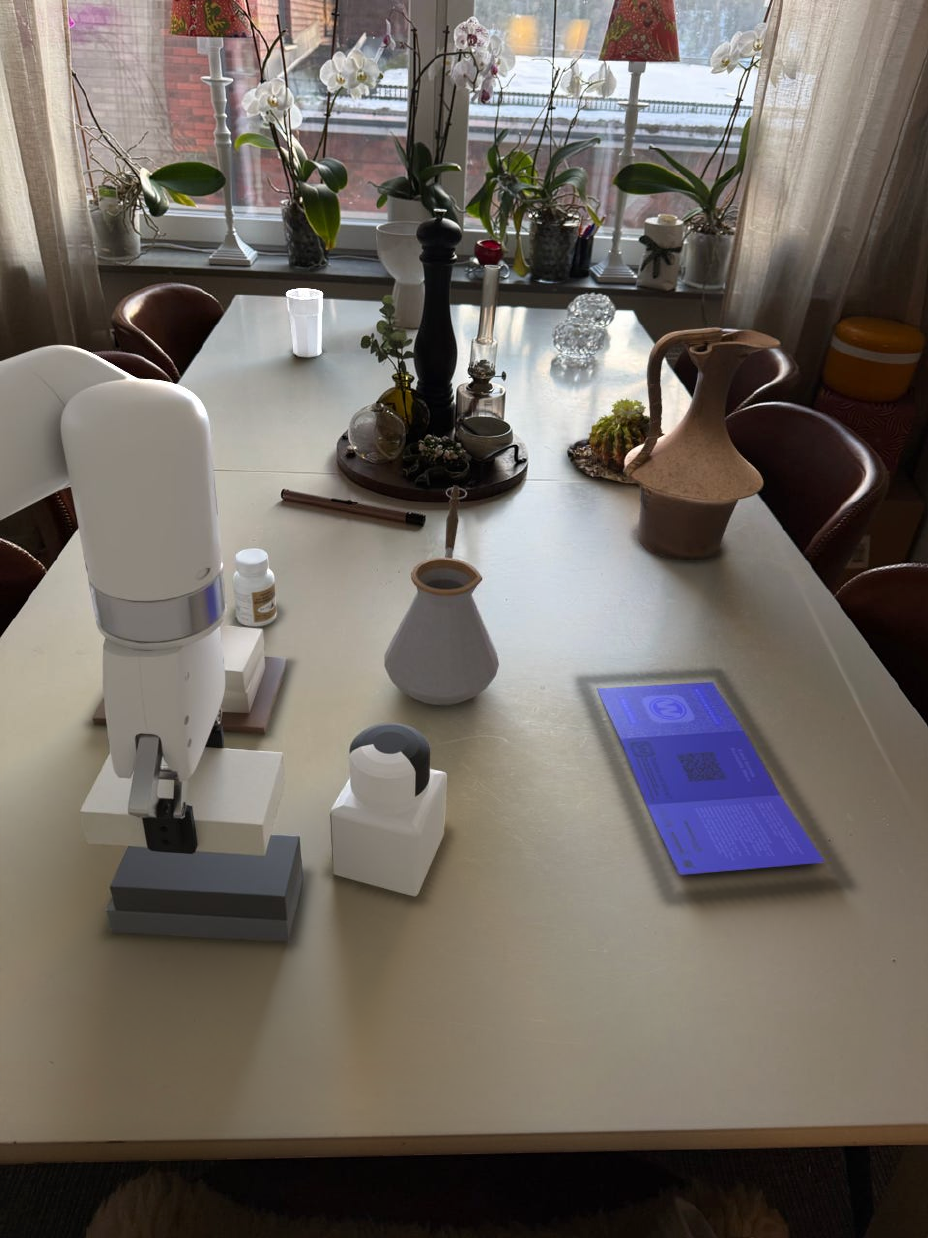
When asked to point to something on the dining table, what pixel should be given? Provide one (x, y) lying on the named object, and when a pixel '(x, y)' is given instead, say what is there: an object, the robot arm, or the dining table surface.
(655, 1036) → the dining table surface
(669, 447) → the pitcher
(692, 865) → the booklet
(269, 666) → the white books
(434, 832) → the blocky figurine
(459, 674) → the coffee pot
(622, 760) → the dining table surface
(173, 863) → the grey books
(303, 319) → the cup
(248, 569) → the pill bottle
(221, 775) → the white book
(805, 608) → the dining table surface
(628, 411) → the cactus
